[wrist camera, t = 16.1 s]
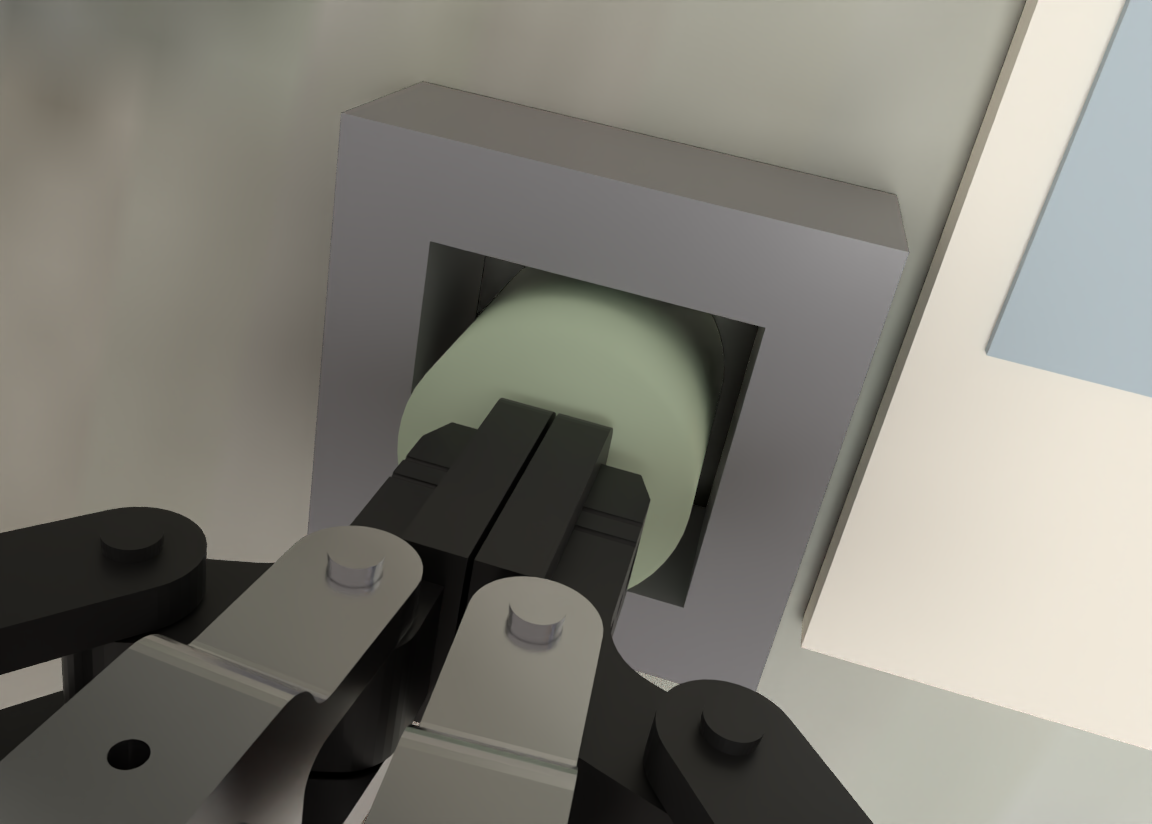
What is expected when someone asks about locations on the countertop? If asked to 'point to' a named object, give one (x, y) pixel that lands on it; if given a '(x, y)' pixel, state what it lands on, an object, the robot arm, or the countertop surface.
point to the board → (1022, 407)
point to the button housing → (628, 263)
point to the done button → (590, 384)
